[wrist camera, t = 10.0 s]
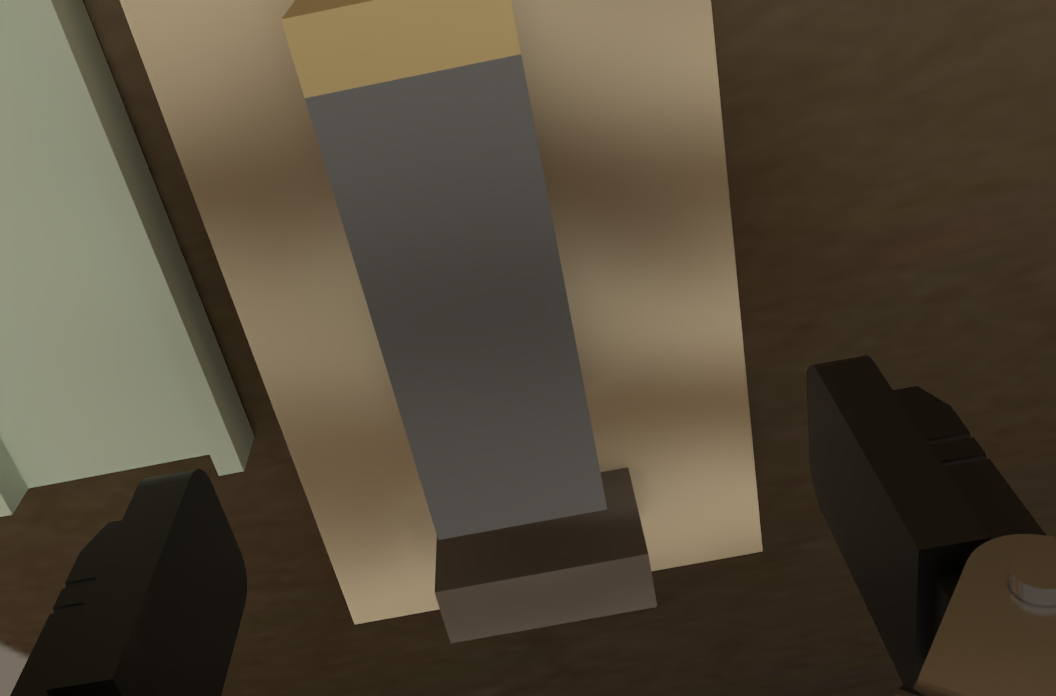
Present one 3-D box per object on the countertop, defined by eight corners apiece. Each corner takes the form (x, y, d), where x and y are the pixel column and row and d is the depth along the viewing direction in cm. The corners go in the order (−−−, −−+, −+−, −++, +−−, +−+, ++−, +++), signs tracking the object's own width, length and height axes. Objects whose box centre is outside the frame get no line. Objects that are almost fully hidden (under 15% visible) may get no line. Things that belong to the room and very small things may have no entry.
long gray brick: (584, 388, 24) (607, 508, 20) (442, 414, 24) (438, 540, 20) (497, -69, 19) (505, -27, 15) (318, -32, 19) (280, 19, 15)
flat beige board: (757, 536, 27) (797, 642, 24) (356, 608, 28) (341, 721, 24) (648, -586, 16) (697, -679, 12) (-28, -428, 16) (-154, -479, 13)
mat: (255, 436, 25) (244, 471, 23) (11, 482, 25) (-12, 518, 24) (25, -145, 18) (-6, -139, 17) (-299, -74, 19) (-352, -63, 17)
